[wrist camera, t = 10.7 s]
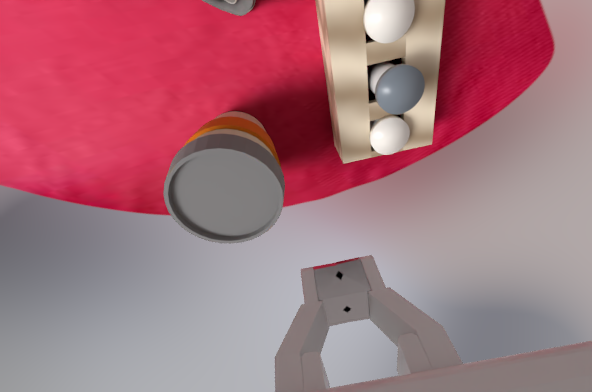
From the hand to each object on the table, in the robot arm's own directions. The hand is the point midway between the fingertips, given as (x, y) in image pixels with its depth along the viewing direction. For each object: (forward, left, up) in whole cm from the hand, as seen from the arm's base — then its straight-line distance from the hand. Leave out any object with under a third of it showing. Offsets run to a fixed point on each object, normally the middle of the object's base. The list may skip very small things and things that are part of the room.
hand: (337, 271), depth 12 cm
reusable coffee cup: (+6, -9, -31) cm, 33 cm away
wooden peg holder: (+1, +11, -31) cm, 33 cm away
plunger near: (-6, +11, -31) cm, 33 cm away
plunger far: (+7, +11, -31) cm, 33 cm away
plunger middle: (+1, +11, -28) cm, 30 cm away
